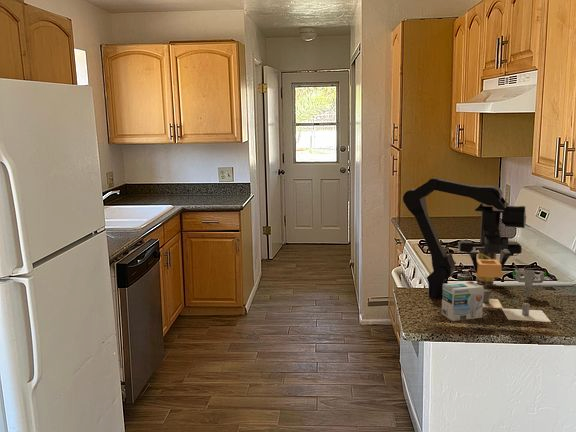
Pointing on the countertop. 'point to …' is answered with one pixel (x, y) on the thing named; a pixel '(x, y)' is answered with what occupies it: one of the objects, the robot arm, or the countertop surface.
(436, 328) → the countertop surface
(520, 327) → the countertop surface
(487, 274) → the collar
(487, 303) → the stand
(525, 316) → the hub board
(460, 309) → the light bulb box
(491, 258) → the sauce bottle
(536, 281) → the mechanical component
